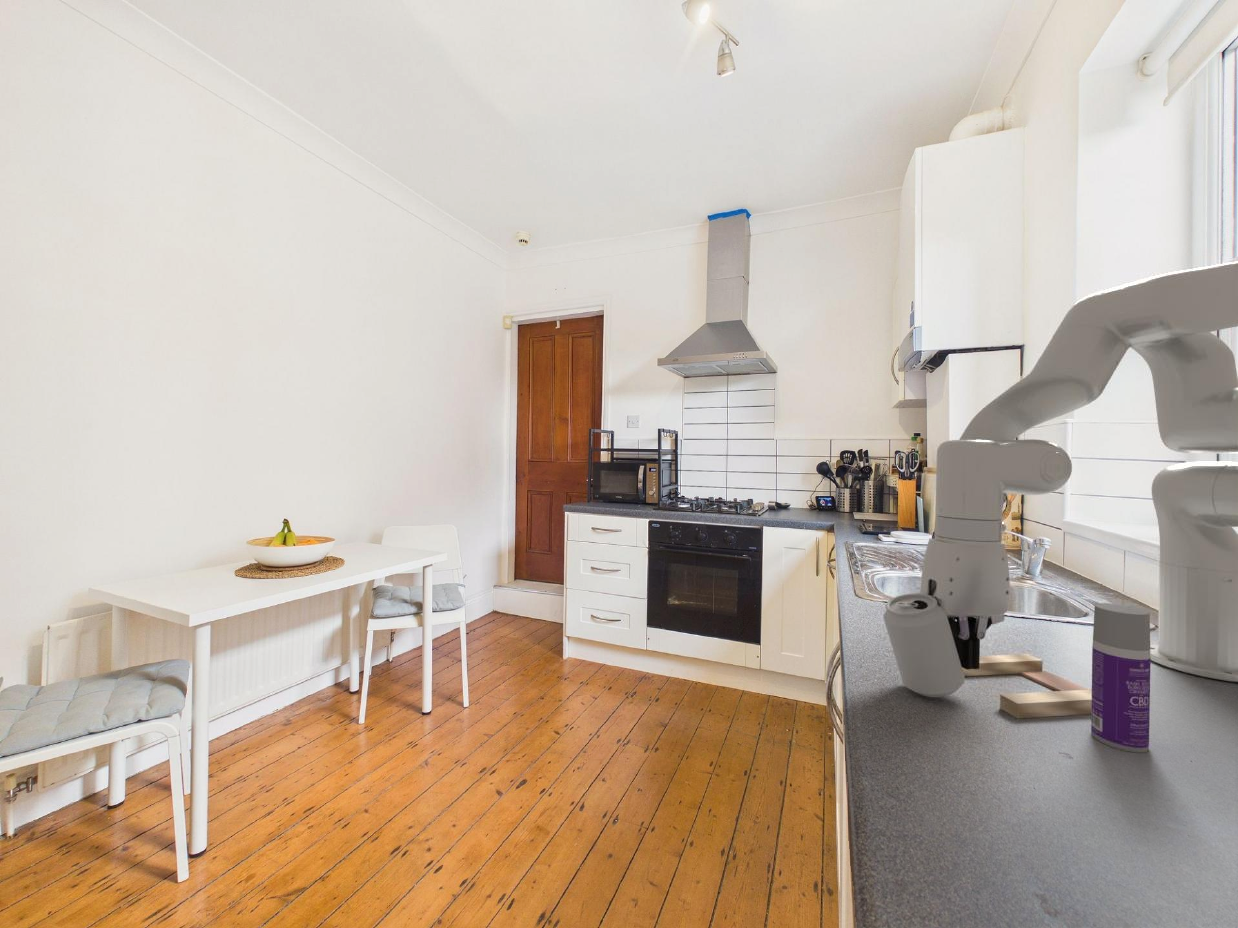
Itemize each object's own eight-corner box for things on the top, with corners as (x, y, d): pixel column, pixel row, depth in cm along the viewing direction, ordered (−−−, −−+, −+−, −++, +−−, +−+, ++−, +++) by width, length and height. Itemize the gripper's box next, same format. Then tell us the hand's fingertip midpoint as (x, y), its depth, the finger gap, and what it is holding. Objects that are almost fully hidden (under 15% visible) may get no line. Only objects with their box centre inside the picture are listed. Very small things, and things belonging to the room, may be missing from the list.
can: (976, 695, 65) (951, 607, 64) (913, 704, 67) (887, 619, 66) (953, 665, 72) (930, 585, 71) (896, 674, 74) (873, 596, 73)
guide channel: (1027, 665, 79) (1027, 653, 79) (1131, 711, 65) (1131, 697, 65) (931, 669, 77) (932, 658, 77) (1017, 718, 63) (1017, 703, 63)
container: (1138, 757, 55) (1141, 617, 54) (1083, 735, 59) (1085, 605, 59) (1156, 745, 57) (1158, 611, 57) (1101, 726, 61) (1103, 600, 61)
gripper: (993, 527, 74) (990, 653, 74) (898, 527, 72) (895, 656, 72) (1042, 534, 67) (1039, 675, 67) (937, 534, 65) (934, 679, 65)
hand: (964, 665), depth 70 cm, fingers closed
